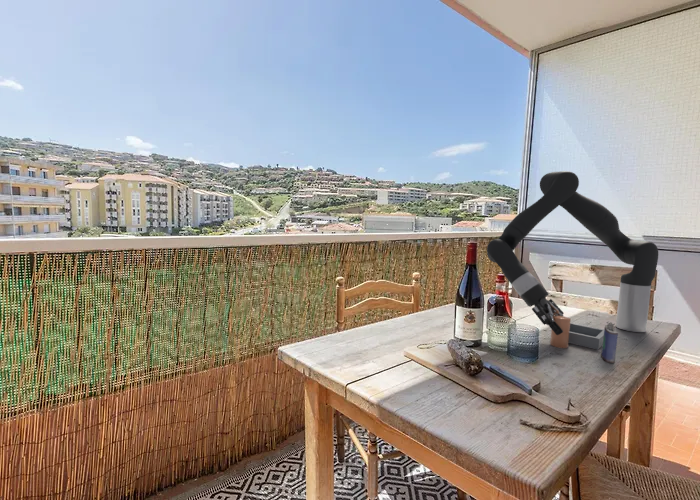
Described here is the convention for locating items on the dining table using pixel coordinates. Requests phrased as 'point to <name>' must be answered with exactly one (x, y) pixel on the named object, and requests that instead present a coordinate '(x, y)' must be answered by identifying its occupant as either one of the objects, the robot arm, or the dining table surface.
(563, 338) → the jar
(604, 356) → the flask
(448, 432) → the dining table surface
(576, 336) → the tray
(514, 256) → the robot arm
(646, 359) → the dining table surface
